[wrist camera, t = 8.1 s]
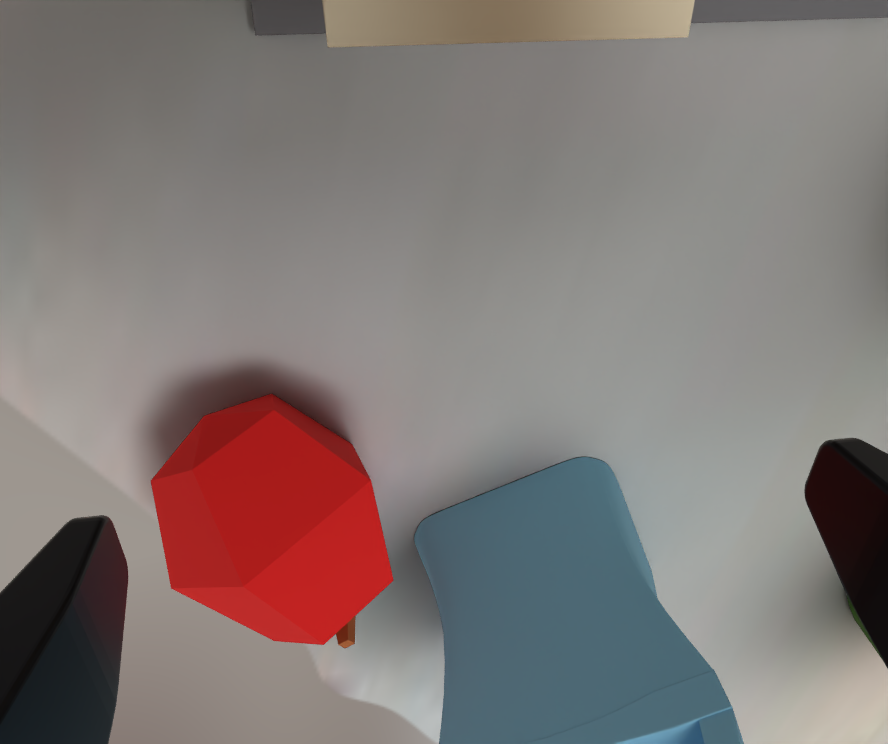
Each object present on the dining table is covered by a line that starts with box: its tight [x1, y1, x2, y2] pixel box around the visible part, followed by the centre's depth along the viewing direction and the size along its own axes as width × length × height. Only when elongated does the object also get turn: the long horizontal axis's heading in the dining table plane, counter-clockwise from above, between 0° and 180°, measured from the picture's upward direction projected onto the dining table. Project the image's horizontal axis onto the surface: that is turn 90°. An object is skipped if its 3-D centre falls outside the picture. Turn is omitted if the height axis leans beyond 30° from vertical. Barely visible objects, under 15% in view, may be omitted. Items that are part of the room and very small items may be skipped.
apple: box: [151, 394, 393, 648], centre depth 23 cm, size 7×7×8 cm
